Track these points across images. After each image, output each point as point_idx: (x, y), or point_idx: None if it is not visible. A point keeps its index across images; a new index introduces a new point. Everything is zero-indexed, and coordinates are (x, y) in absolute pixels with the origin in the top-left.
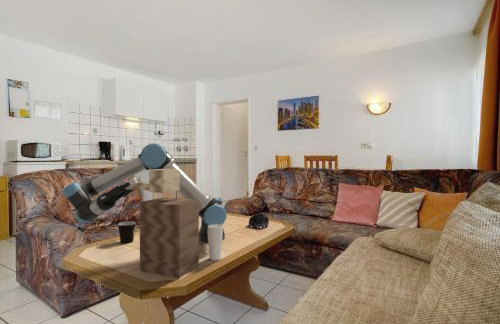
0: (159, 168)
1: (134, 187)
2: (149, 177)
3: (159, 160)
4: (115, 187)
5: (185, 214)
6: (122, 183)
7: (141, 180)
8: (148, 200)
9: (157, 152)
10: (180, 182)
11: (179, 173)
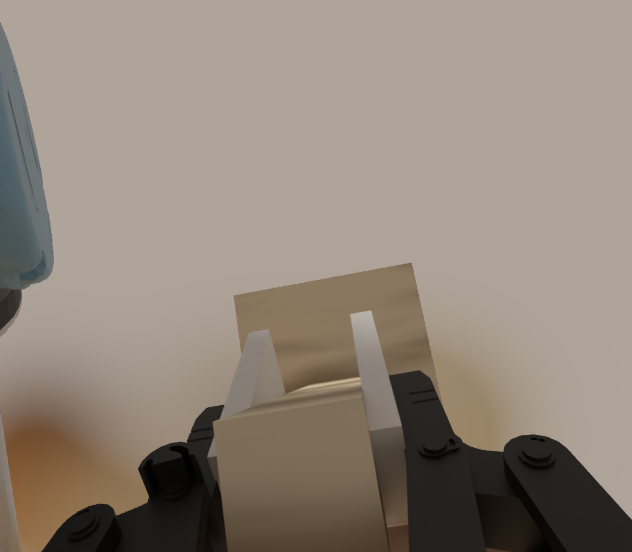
0: (5, 303)
1: None
2: (422, 313)
3: (45, 220)
4: (583, 477)
5: None
6: (366, 429)
7: (279, 374)
8: (407, 521)
9: (29, 134)
10: (6, 461)
11: None
